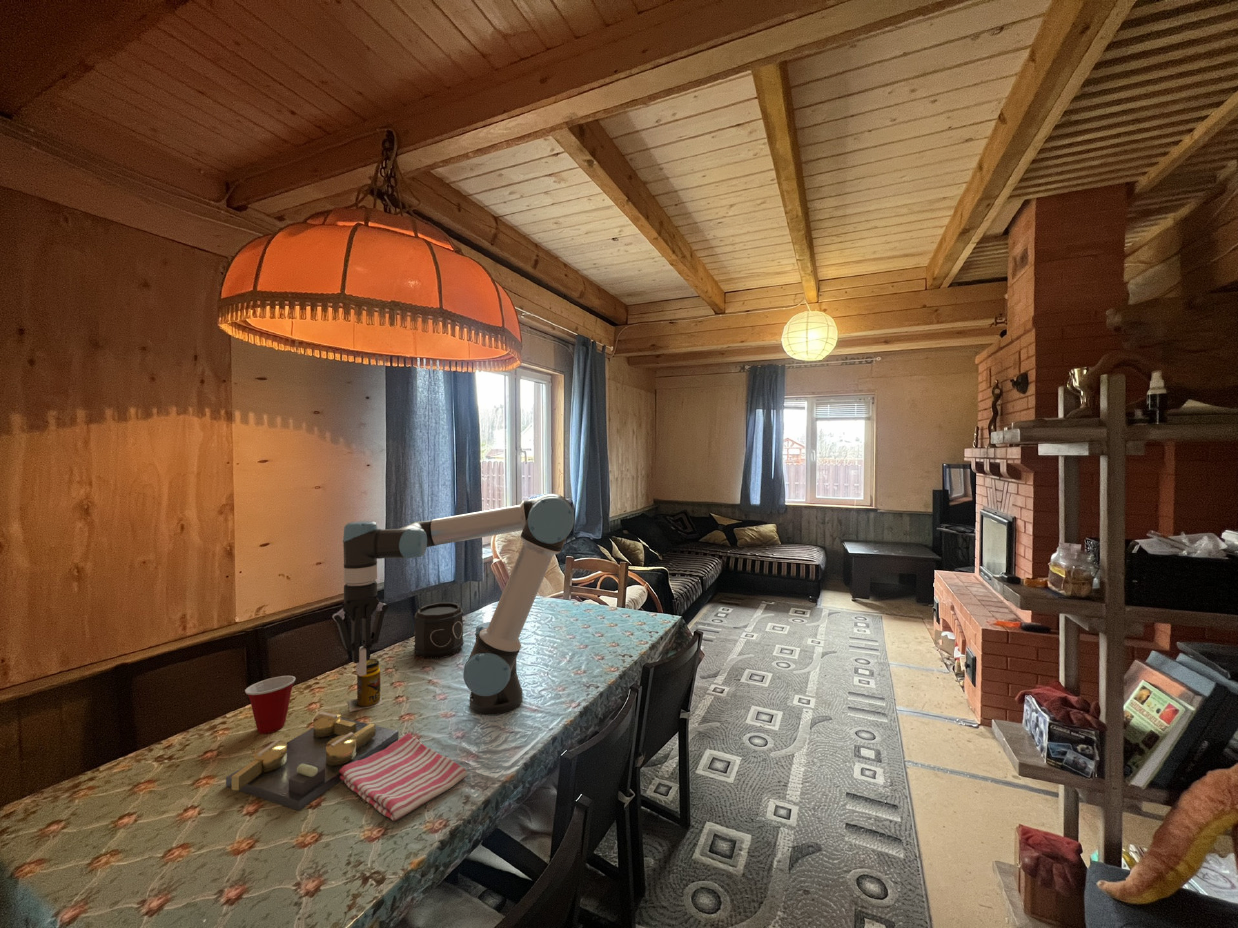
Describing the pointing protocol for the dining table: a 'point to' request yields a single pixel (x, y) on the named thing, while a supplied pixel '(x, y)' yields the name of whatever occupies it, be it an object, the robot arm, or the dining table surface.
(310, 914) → the dining table surface
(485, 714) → the robot arm
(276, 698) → the plastic cup
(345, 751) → the knob
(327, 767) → the levelling plate
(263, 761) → the knob
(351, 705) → the condiment
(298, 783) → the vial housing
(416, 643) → the dark lidded canister
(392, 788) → the dish towel
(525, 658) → the dining table surface
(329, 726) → the knob
